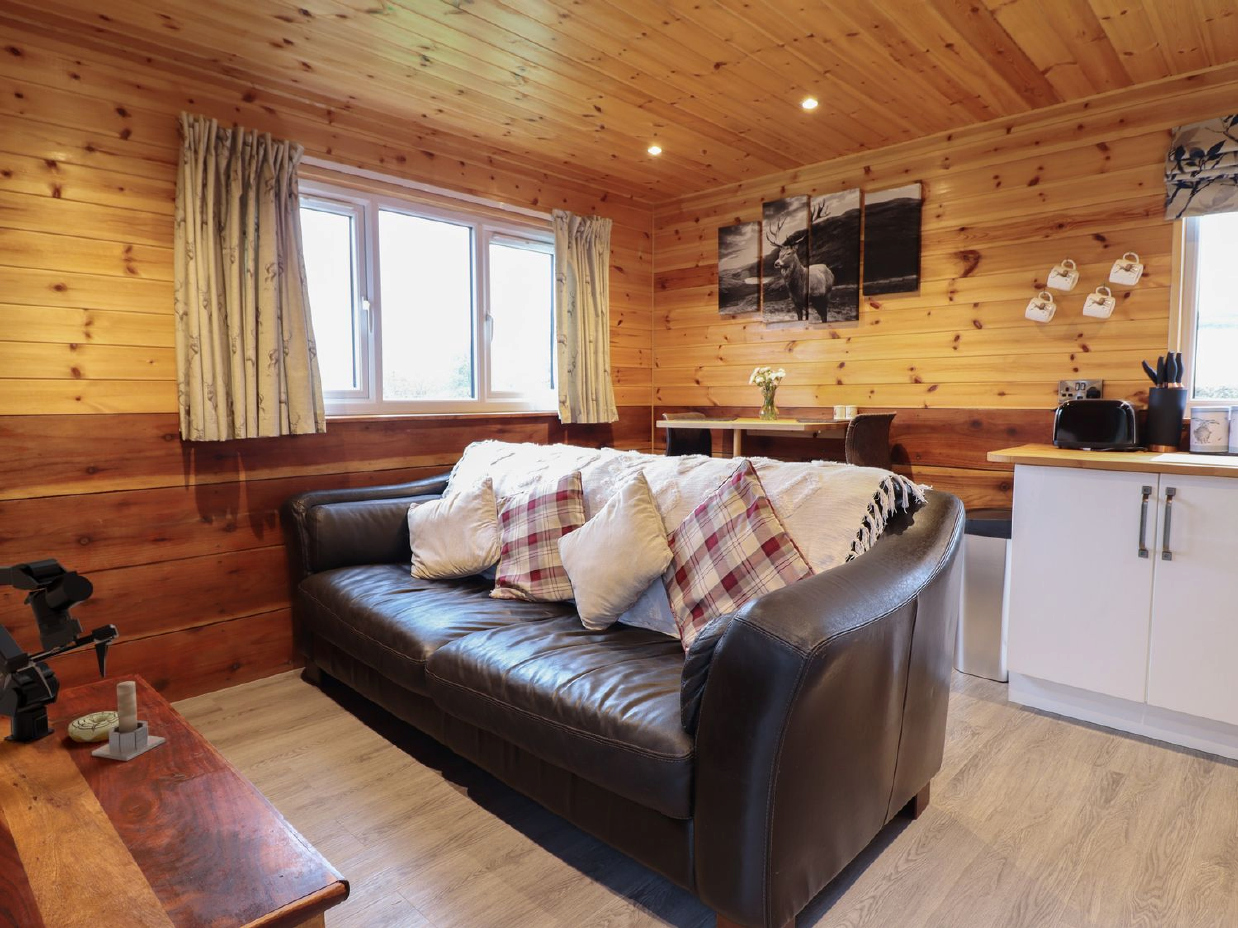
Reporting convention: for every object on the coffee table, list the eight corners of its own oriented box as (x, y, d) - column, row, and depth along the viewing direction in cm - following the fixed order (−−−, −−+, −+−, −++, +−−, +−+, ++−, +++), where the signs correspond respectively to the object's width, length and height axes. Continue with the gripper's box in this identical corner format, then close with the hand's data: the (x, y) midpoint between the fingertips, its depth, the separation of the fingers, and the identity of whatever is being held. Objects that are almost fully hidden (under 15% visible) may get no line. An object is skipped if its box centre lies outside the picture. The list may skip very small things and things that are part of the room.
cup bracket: (92, 755, 149) (91, 733, 149) (131, 736, 158) (131, 716, 158) (126, 760, 147) (126, 739, 147) (165, 741, 156) (164, 720, 155)
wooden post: (116, 748, 151) (113, 686, 150) (125, 741, 154) (122, 681, 153) (132, 747, 151) (129, 686, 150) (141, 740, 154) (138, 680, 153)
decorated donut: (87, 749, 152) (86, 732, 152) (57, 739, 157) (56, 722, 156) (138, 730, 161) (137, 713, 161) (109, 720, 166) (108, 704, 166)
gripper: (-13, 631, 140) (13, 708, 139) (101, 595, 151) (126, 666, 149) (0, 636, 150) (24, 708, 148) (107, 601, 160) (130, 668, 159)
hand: (77, 687), depth 151 cm, fingers open, 9 cm apart
